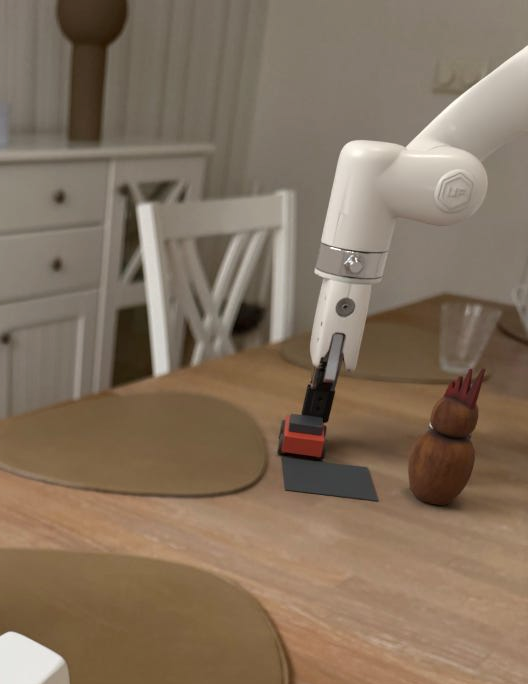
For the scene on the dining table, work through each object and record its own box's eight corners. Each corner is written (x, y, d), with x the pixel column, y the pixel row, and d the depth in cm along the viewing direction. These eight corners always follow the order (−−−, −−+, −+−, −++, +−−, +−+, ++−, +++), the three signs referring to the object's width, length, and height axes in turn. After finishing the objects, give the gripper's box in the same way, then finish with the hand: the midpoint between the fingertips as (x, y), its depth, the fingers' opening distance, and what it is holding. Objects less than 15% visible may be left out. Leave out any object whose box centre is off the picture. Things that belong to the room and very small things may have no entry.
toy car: (329, 432, 113) (282, 426, 114) (323, 463, 115) (276, 456, 116) (329, 411, 120) (284, 405, 121) (322, 441, 122) (279, 435, 123)
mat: (367, 467, 115) (367, 467, 115) (377, 501, 107) (377, 500, 107) (281, 457, 116) (281, 457, 116) (285, 490, 108) (285, 489, 108)
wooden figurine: (469, 511, 106) (512, 374, 98) (418, 510, 105) (457, 372, 97) (442, 486, 111) (481, 355, 103) (394, 485, 111) (429, 352, 103)
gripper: (392, 280, 104) (350, 444, 114) (376, 255, 117) (340, 405, 126) (321, 272, 105) (285, 435, 115) (313, 248, 117) (281, 397, 127)
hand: (314, 419), depth 120 cm, fingers closed
